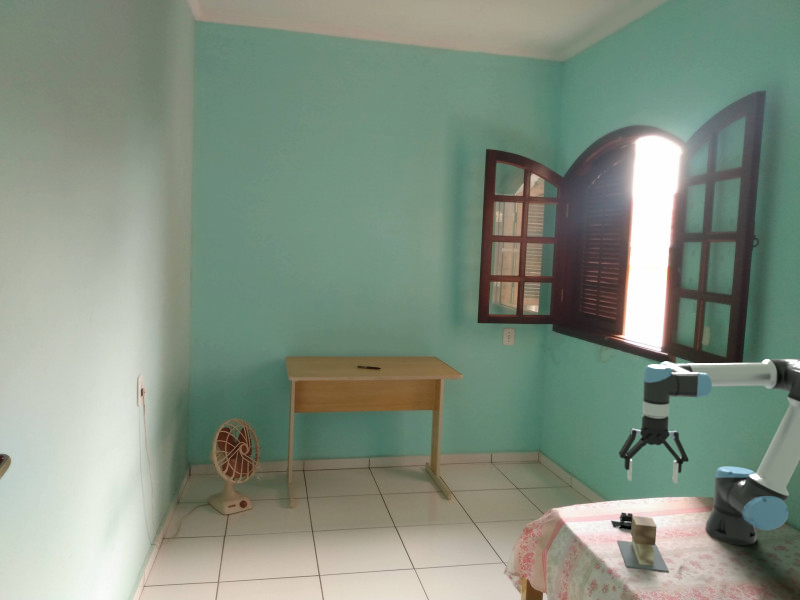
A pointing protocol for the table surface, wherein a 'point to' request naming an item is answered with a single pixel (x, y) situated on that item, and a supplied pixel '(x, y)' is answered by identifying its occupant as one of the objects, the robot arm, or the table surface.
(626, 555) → the mat
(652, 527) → the walnut cube
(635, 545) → the plinth
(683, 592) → the table surface
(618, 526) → the black plastic holder
